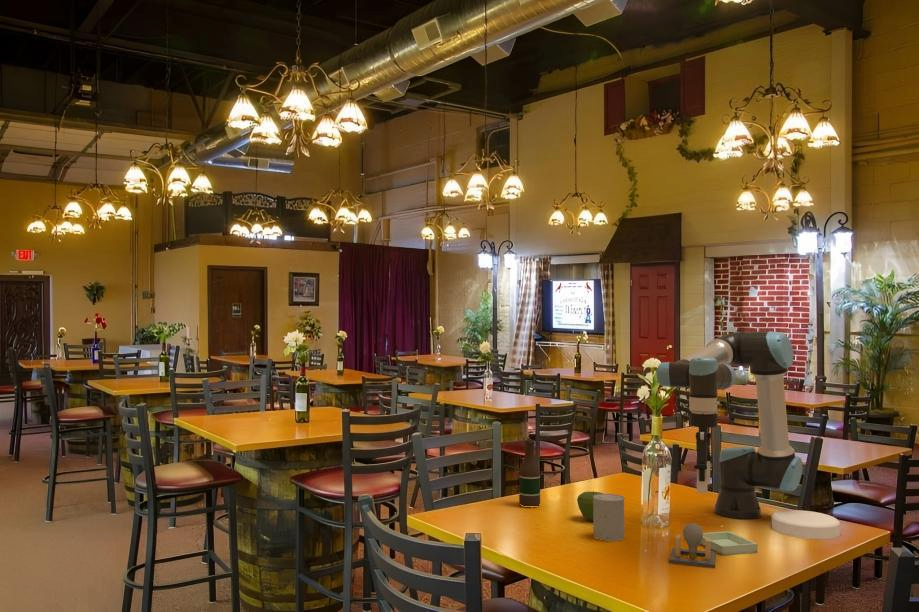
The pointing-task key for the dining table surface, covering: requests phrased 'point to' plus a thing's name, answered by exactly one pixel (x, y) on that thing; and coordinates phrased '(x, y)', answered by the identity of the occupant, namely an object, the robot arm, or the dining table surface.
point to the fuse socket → (707, 554)
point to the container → (805, 524)
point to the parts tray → (729, 543)
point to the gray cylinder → (608, 517)
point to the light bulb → (692, 538)
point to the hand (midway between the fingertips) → (703, 488)
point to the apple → (587, 504)
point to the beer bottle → (529, 477)
